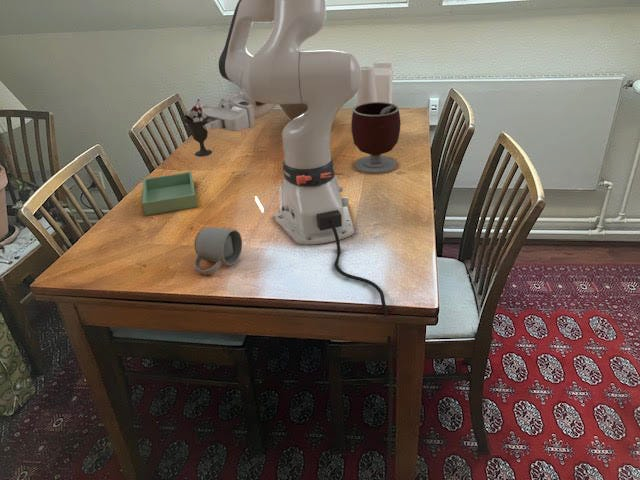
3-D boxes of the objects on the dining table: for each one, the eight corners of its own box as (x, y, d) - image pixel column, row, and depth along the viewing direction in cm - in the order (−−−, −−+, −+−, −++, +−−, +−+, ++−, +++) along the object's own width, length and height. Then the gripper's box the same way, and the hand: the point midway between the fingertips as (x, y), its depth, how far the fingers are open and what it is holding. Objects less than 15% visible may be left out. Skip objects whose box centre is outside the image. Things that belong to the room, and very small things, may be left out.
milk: (375, 124, 189) (375, 61, 178) (392, 125, 187) (392, 61, 176) (371, 130, 184) (371, 65, 173) (389, 130, 182) (389, 65, 171)
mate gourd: (343, 163, 159) (341, 97, 149) (382, 153, 165) (383, 88, 154) (371, 180, 147) (371, 110, 137) (412, 169, 152) (414, 100, 142)
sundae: (217, 148, 152) (207, 96, 145) (213, 156, 147) (203, 103, 139) (194, 150, 153) (183, 98, 145) (189, 158, 147) (178, 105, 139)
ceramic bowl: (348, 115, 200) (347, 88, 195) (315, 133, 184) (314, 105, 178) (300, 108, 211) (298, 83, 206) (265, 125, 194) (262, 98, 189)
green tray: (197, 206, 139) (195, 194, 137) (145, 215, 136) (142, 203, 134) (193, 182, 153) (191, 171, 151) (145, 190, 150) (143, 178, 148)
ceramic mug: (214, 247, 120) (208, 218, 116) (245, 253, 117) (240, 223, 113) (186, 273, 112) (179, 242, 108) (219, 280, 109) (212, 249, 105)
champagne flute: (380, 143, 172) (381, 68, 160) (362, 147, 170) (361, 71, 158) (371, 137, 177) (371, 64, 165) (353, 141, 175) (351, 67, 163)
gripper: (206, 96, 158) (169, 109, 149) (255, 105, 147) (219, 119, 137) (210, 117, 161) (174, 130, 152) (258, 127, 150) (222, 142, 141)
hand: (195, 125), depth 145 cm, fingers closed on sundae, 6 cm apart
